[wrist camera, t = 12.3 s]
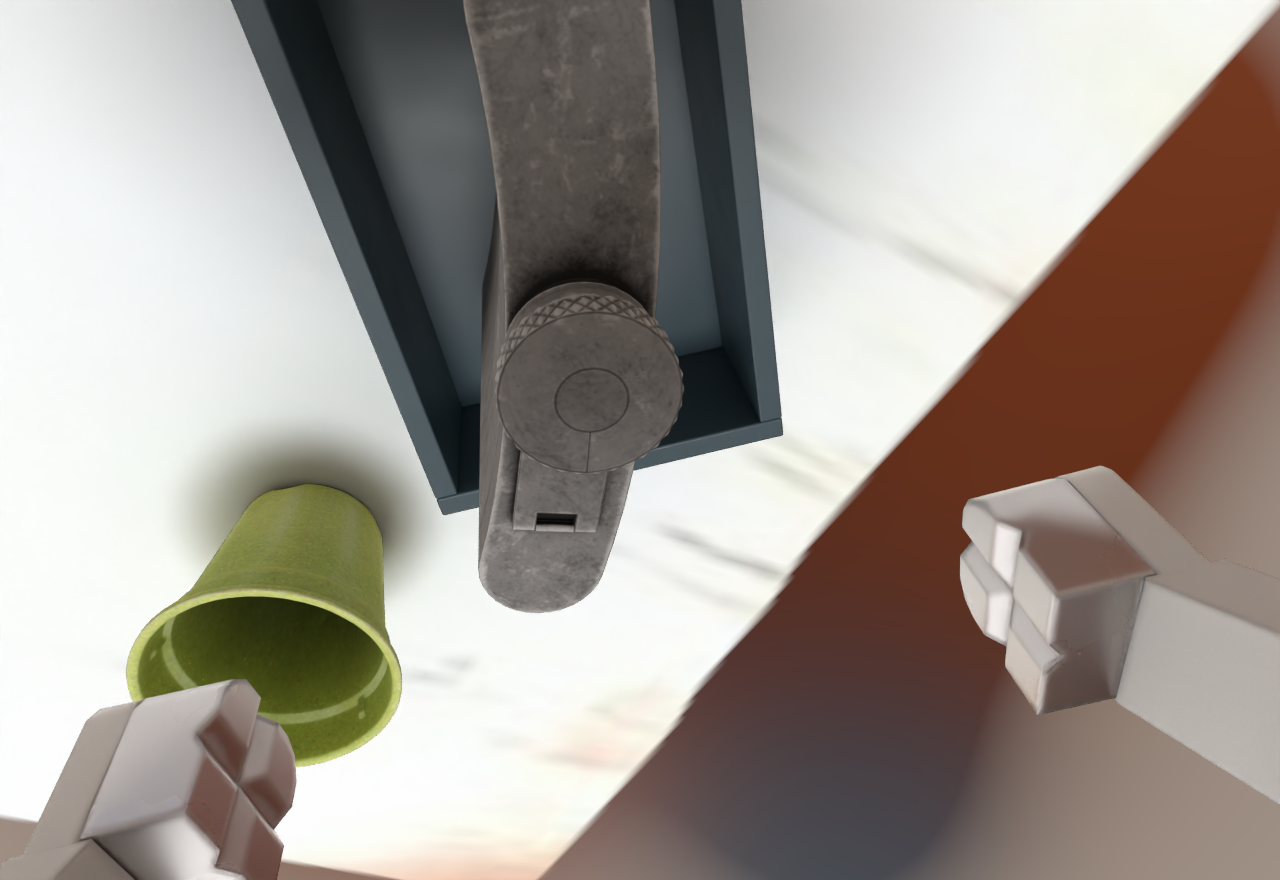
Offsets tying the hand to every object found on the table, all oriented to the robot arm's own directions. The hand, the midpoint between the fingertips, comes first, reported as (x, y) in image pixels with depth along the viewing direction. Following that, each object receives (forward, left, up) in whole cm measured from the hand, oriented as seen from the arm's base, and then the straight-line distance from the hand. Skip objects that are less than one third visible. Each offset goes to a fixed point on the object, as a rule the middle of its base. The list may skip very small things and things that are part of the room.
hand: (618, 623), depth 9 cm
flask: (0, 0, -24) cm, 24 cm away
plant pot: (+15, -14, -24) cm, 32 cm away
